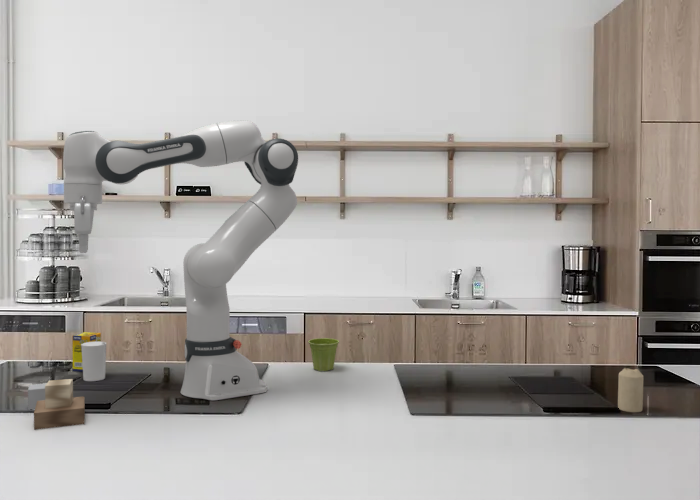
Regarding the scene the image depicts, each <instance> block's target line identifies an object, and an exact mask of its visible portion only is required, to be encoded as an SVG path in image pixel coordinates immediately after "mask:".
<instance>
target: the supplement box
mask: <svg viewBox="0 0 700 500" xmlns="http://www.w3.org/2000/svg"><path fill="white" fill-rule="evenodd" d="M71 339H72V349H71V350H72V353H71V354H72V355H71V356H72V372H79V373H83V363H82V347H81V344H83V343H86V342H102V332H89V331H88V332H87V331H84V332H82V333H81V332H80V333H77V334H72V337H71Z"/></svg>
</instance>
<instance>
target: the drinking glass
mask: <svg viewBox="0 0 700 500" xmlns="http://www.w3.org/2000/svg"><path fill="white" fill-rule="evenodd" d="M81 347H82V363H83V372H82V377H83V381H85V382H96V381H103V380H104V379H106V362H107V357H106V356H107V342H105V341H101V342H86V343H83V344H81Z"/></svg>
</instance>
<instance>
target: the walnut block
mask: <svg viewBox="0 0 700 500" xmlns="http://www.w3.org/2000/svg"><path fill="white" fill-rule="evenodd" d="M85 400H86V399H85V395H84V396H73V402H72V404H71V406H70V407H59V408H46V405H45V400H41V401H37V403H36V407H35V410H33V429H34V430H43V429H44V430H45V429H51V428H62V427H71V426H80V425H85V423H86V422H85V420H86V418H85V415H86V414H85V410H86V409H85V407H86V405H85Z"/></svg>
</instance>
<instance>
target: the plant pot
mask: <svg viewBox="0 0 700 500" xmlns="http://www.w3.org/2000/svg"><path fill="white" fill-rule="evenodd" d="M307 342H308V344H309V348H310V351H311V358H312V365H313V366H312V367H313V370H314V371H315V370H316V371H317V372H328V371H332V370H334V369H335V368H334V367H335V359H336V353H337V348H338V345H339V344H340V341H339V339H335V338H327V337H324V338H323V337H322V338H320V337H319V338H312V339H309V340H308V341H307Z"/></svg>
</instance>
